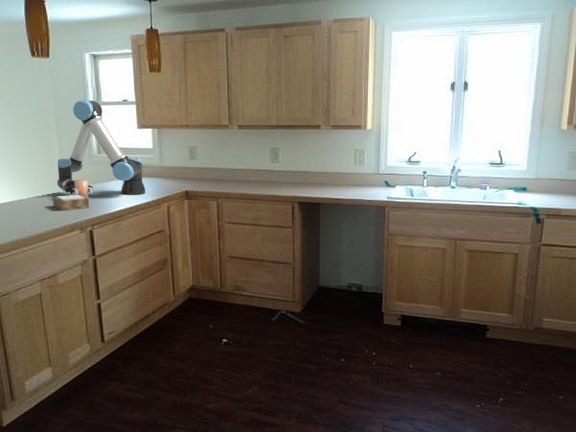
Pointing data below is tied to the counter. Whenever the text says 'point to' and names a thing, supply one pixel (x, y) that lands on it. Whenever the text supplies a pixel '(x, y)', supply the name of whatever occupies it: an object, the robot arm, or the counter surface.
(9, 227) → the counter surface
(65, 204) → the walnut base
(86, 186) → the peach glossy cylinder
